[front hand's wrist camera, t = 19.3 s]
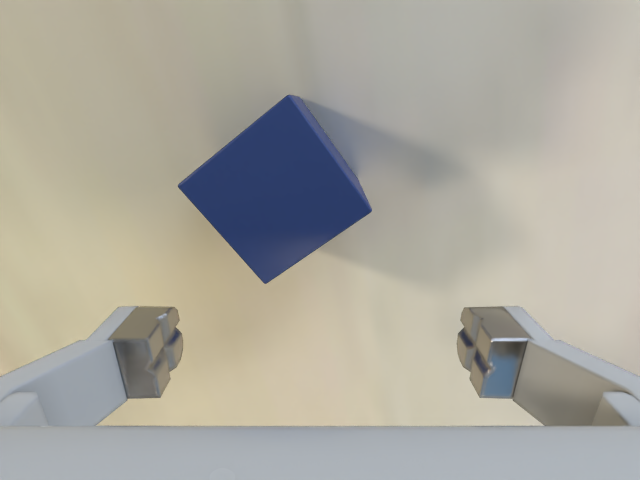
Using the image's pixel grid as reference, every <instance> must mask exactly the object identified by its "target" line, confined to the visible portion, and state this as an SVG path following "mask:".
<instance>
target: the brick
mask: <svg viewBox="0 0 640 480" xmlns="http://www.w3.org/2000/svg"><path fill="white" fill-rule="evenodd" d="M178 187H179V189H180V190H181V191H182V192H183V193H184V194H185V195H186V196H187V198H188V199H189V200H190V201H191V202H192V203H193V204H194V205H195V206H196V208H197V209H198V210H199V211H200V212H201V213H202V214H203V215H204V217H205V218H206V219H207V220H208V221H209V222H210V223H211V224H212V226H213V227H214V228H215V229H216V230H217V231H218V232H219V233H220V234H221V236H222V237H223V238H224V239H225V240H226V241H227V242H228V243H229V245H230V246H231V247H232V248H233V249H234V250H235V251H236V252H237V254H238V255H239V256H240V257H241V258H242V259H243V260H244V261H245V262H246V264H247V265H248V266H249V267H250V268H251V269H252V270H253V271H254V273H255V274H256V275H257V276H258V277H259V278H260V279H261V280H262V281H263V283H265V284H266V283H268V282H269V281H271V280H272V279H274V278H275V277H277V276H278V275H280V274H281V273H283V272H284V271H286V270H287V269H288V268H290V267H291V266H293V265H294V264H296V263H297V262H299V261H300V260H302V259H303V258H305V257H306V256H307V255H309V254H310V253H312V252H313V251H315V250H316V249H318V248H319V247H321V246H322V245H324V244H325V243H327V242H328V241H329V240H331V239H332V238H334V237H335V236H337V235H338V234H340V233H341V232H343V231H344V230H346V229H347V228H349V227H350V226H351V225H353V224H354V223H356V222H357V221H359V220H360V219H362V218H363V217H365V216H366V215H368V214H369V213H370V212H371V211H372V209H371V207H370V204H369V202H368V200H367V198H366V196H365V194H364V191H363V189H362V187H361V185H360V183H359V180H358V179H357V177H356V176H355V174H354V173H353V172H352V170H351V169H350V167H349V166H348V165H347V163H346V162H345V160H344V159H343V157H342V156H341V155H340V153H339V152H338V150H337V149H336V148H335V146H334V145H333V143H332V142H331V140H330V139H329V138H328V136H327V135H326V133H325V132H324V131H323V129H322V128H321V126H320V125H319V123H318V122H317V121H316V119H315V118H314V116H313V115H312V114H311V112H310V111H309V109H308V108H307V106H306V105H305V104H304V102H303V101H302V99H301V98H300V97H298V96H293V95H287V96H286V97H284V98H283V99H282V100H281V101H280V102H278V103H277V104H276V105H275V106H273V107H272V108H271V109H270V110H269V111H267V112H266V113H265V114H264V115H262V116H261V117H260V118H259V119H258V120H256V121H255V122H254V123H253V124H251V125H250V126H249V127H248V128H247V129H245V130H244V131H243V132H242V133H240V134H239V135H238V136H237V137H236V138H234V139H233V140H232V141H231V142H229V143H228V144H227V145H226V146H225V147H223V148H222V149H221V150H220V151H218V152H217V153H216V154H215V155H214V156H212V157H211V158H210V159H209V160H208V161H206V162H205V163H204V164H203V165H201V166H200V167H199V168H198V169H197V170H195V171H194V172H193V173H192V174H190V175H189V176H188V177H187V178H186V179H184V180H183V181H182V182H181V183H179V185H178Z"/></svg>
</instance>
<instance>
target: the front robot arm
mask: <svg viewBox="0 0 640 480" xmlns="http://www.w3.org/2000/svg"><path fill="white" fill-rule="evenodd" d="M178 322H179V315H178V310H177V309H176V308H175V307H155V306H122V307H118V308H117V309H116V310H115V311H114V312H113V313H112V314H111V315H110V316H109V317H108V318H107V319H106V320H105V321H104V322H103V323H102V324H101V325H100V326H99V327H98V328H97V329H96V330H95V331H94V332H93V333H92V334H91V335H90V336H89V337H88V338H87V339H86V340H79V341H77V342H75V343H73V344H71V345H68V346H66V347H64V348H62V349H60V350H57V351H55V352H53V353H51V354H49V355H46V356H44V357H42V358H40V359H38V360H35V361H33V362H31V363H29V364H27V365H24V366H22V367H20V368H18V369H16V370H13V371H11V372H9V373H7V374H5V375H2V376H0V480H640V376H637V375H635V374H633V373H631V372H629V371H626V370H624V369H622V368H620V367H618V366H615V365H613V364H611V363H609V362H607V361H605V360H602V359H600V358H598V357H596V356H594V355H591V354H589V353H587V352H585V351H583V350H580V349H578V348H576V347H574V346H572V345H569V344H567V343H565V342H563V341H561V340H554V339H553V338H552V337H551V336H550V335H549V334H548V333H547V332H546V331H545V330H544V329H543V328H542V327H541V326H540V325H539V324H538V323H537V322H536V321H535V320H534V319H533V318H532V317H531V316H530V315H529V314H528V313H527V312H526V311H525V310H524V309H523V308H522V307H519V306H500V307H465V308H464V309H463V311H462V314H461V322H462V324H463V325H464V328H463V329H462V330H461V331H460V332H459V333H458V338H457V352H458V356H459V359H460V362H461V364H462V366H463V367H464V368H465V369H467V370H468V371H470V372H471V373H470V381H471V383H472V384H473V386H474V388H475V390H476V392H477V394H478V395H479V397H480V398H508V399H513V401H514V402H516V403H517V404H518V405H519V406H521V407H522V408H523V409H524V410H526V411H527V412H528V413H529V414H531V415H532V416H533V417H534V418H536V419H537V420H538V421H539V422H541V423H542V424H543V425H544V426H96V425H97V424H98V423H99V422H101V421H102V420H103V419H104V418H106V417H107V416H108V415H110V414H111V413H112V412H113V411H115V410H116V409H117V408H118V407H120V406H121V405H122V404H123V403H125V402H126V401H127V399H132V398H160V397H161V396H162V394H163V392H164V390H165V388H166V386H167V384H168V383H169V381H170V373H169V372H170V371H172V370H173V369H175V368H176V367H177V366H178V364H179V362H180V360H181V356H182V351H183V337H182V333H181V332H180V331H179V330H178V329H177V328H176V325H177V324H178Z"/></svg>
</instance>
